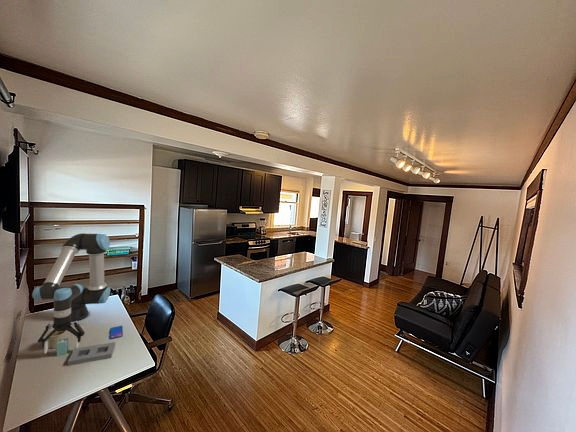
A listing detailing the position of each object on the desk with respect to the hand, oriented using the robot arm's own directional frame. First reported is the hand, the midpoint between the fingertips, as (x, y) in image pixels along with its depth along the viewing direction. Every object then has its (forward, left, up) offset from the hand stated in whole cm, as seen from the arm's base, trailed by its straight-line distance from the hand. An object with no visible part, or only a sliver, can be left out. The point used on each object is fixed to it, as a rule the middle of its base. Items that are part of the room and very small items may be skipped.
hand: (62, 349), depth 144 cm
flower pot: (-10, -6, -3) cm, 12 cm away
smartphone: (-15, +24, -3) cm, 29 cm away
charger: (0, 0, -3) cm, 3 cm away
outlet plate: (+7, +16, -3) cm, 18 cm away
